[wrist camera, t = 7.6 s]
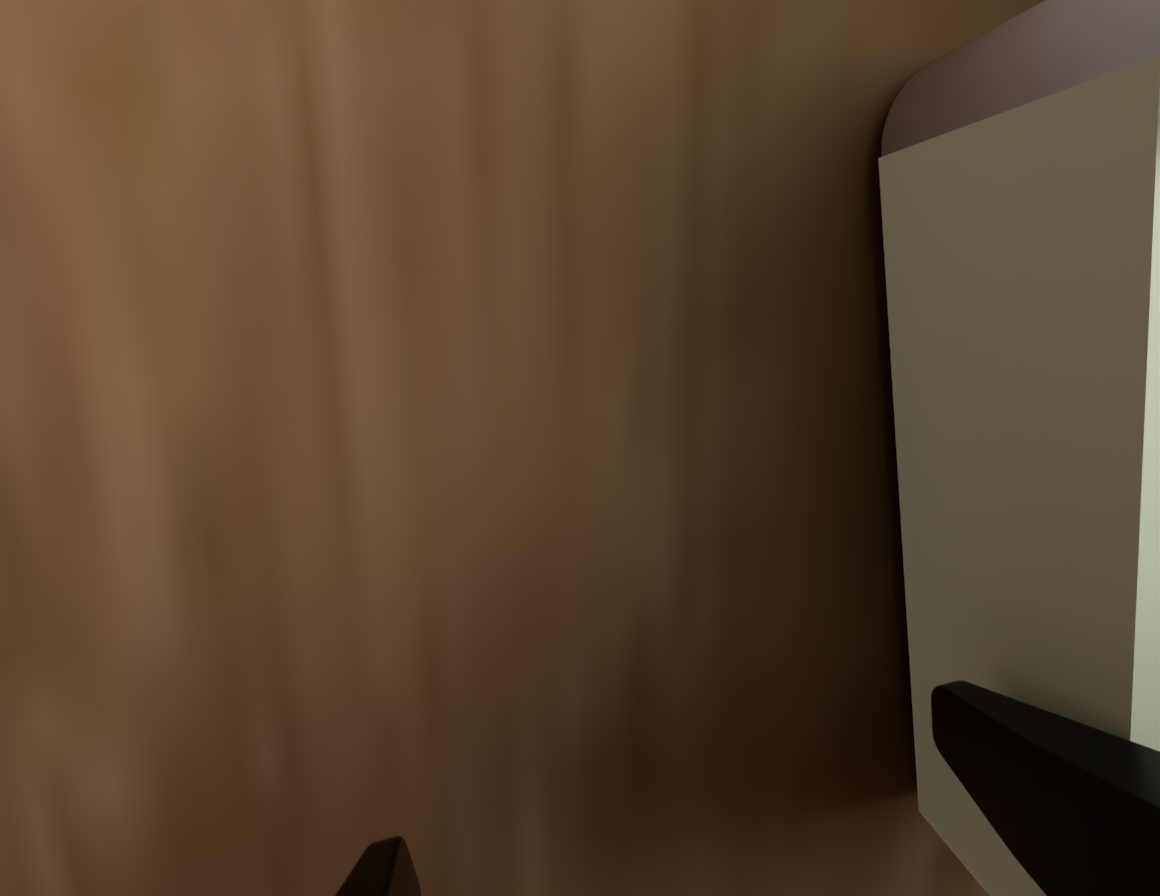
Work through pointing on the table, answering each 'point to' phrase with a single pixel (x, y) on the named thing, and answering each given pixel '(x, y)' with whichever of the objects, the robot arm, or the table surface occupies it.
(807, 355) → the table surface
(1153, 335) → the stool leg
